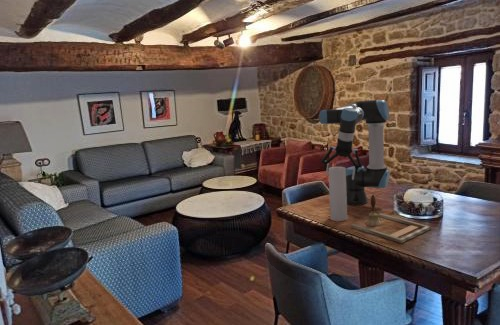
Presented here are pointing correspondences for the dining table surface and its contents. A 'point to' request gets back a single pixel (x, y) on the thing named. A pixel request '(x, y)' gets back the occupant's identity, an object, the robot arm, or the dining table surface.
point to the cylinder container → (337, 193)
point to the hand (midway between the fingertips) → (339, 177)
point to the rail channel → (400, 240)
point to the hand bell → (373, 215)
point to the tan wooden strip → (404, 231)
